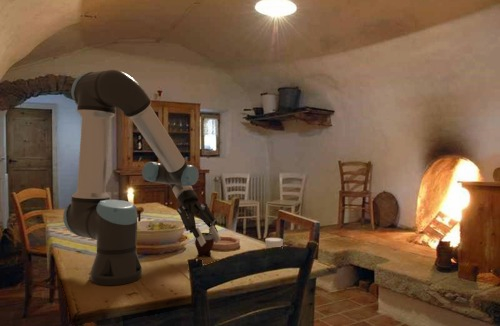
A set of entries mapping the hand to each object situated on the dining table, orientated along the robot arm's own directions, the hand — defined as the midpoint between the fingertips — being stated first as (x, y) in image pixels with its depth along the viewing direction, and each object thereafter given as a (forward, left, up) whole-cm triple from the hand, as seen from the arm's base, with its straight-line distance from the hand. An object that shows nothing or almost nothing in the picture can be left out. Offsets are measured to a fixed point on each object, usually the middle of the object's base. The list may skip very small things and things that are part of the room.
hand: (211, 242), depth 144 cm
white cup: (+19, -14, -6) cm, 24 cm away
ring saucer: (+14, +11, -5) cm, 18 cm away
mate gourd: (0, +4, -6) cm, 7 cm away
